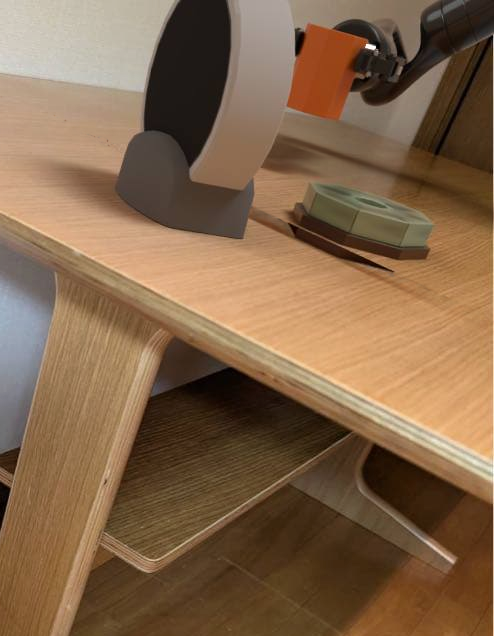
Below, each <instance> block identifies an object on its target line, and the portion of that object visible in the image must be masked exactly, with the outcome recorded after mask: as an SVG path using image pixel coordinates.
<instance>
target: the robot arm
mask: <svg viewBox="0 0 494 636" xmlns="http://www.w3.org/2000/svg"><path fill="white" fill-rule="evenodd" d="M331 29H332V30H336V31H340V32H343V33H347V34H350V35H354V36H357V37H361V38H364V39H368V42H367V45H366V47H365V49H362V48H361V49H360V51H359V53H358V56H357V59H356V62H355V65H354V67H353V72H356V75H355V77H354V80H353V83H352V85H351V88H350V91H349V93H359V95H360V97H361V100H362V102H364V104H365V105H367V106H370V107H382V106H384V105H388V104H390V103H392V102H393V101H394V100H396V99H397V98H398V97H400V96H401V95H402V94H403V93H405V91H407V90H408V89H409V88H410V87H411V86H413V85H414V84H415V83H416V82H417V81H418V80H419V79H420V78H422V77H423V76H424V75H425V74H427V73H428V72H429V71H431V70H432V69H434V68H435V67H436V66H437V65H439V64H440V63H442V62H444V61H445V60H448V59H449V58H450V57H452V56H454V55H456V54H458V53H460V52H463V51H464V50H466V49H468V48H470V47H472V46H474V45H477V44H478V43H480V42H482V41H484V40H486V39H488V38H490V37H491V36H493V35H494V0H435V1H433V2H431V3H430V4H428V5H427V6H425V7H424V8H423V9H422V10H421V11H420V14H419V19H418V30H419V45H418V49H417V51H416V53H415V54H414V56H413V58H412V59H411V60H410V59H409V56H408V52H407V49H406V44H405V41H404V38H403V34H402V31H401V28H400V26H399V24H398V22H397V21H396V20H395V18H393V17H390V16H383V17H379V18H375V19H372V20H370V21H367V20H365V19H361V18H350V19H346V20H343V21H341V22H339V23H338V24H336V25H334V26H333V27H332V28H331ZM294 30H295V58H297V55H298V52H299V49H300V46H301V43H302V39H303V36H304V33H305V30H306V28H301V27H298V26H297V27H294Z"/></svg>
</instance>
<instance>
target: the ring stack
mask: <svg viewBox="0 0 494 636" xmlns="http://www.w3.org/2000/svg"><path fill="white" fill-rule="evenodd" d="M291 213H292V215H293V217H294V219H295V221H296V223H297V225H298V226H297V225H295V224H294V223H292V222H291V223H290V222H288V226H289V228H290V230H291V232H292V234H293V237H295V238H296V239H298V240H301V241H303V242H305V243H307V244H309V245H311V246H313V247H315V248H317V249H319V250H321V251H323V252H326V253H328V254H330V255H332V256H334V257H336V258H339V259H343V260H347V261H350V262H354V263H357V262H358V263H357V264H361V265H365V266H368V265H369V267H372V268H377V269H380V270H383V271H387V272H391V273H394V272H395V270H392V269H391V268H388V267H386V266H384V265H382V264H380V263H377V262H375V261H373V260H371V259H369V258H367V257H364V256H362V255H360V254H357V253H356V252H353V251H351V250H349V249H347V248H351V249H354V250H358V251H361V252H366V253H369V254H372V255H377V256H380V257H384V258H388V259H390V260H395V261H422V260H423V261H424V260H427V257H428V256H429V253H430V251H431V248H430V247H429V246H428V245H427V242H428V240H429V237H430V235H431V233H432V232H433V229H434V227H435V223H434V222H433V221H432V220H430V218H429V217H428V216H426V215H425V214H424V213H423V212H421V211H419V210H417V209H414V208H412V207H409V206H407V205H405V204H402V203H399V202H397V201H394V200H392V199H390V198H387V197H385V196H382V195H380V194H375V193H371V192H367V191H364V190H362V189H361V190H360V189H358V188H354V187H350V186H346V185H342V184H338V183H330V182H319V181H318V182H317V181H309V182H308V185H307V187H306V191H305V194H304V195H303V199H302V201H301V202H299V201H298V202H295V204H294V206H293V209H292V212H291ZM303 228H304V229H303ZM325 238H326V239H325ZM327 239H328V240H327ZM336 243H337V244H336ZM344 247H345V248H344ZM346 247H347V248H346Z"/></svg>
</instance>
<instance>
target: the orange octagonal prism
mask: <svg viewBox="0 0 494 636" xmlns="http://www.w3.org/2000/svg"><path fill="white" fill-rule="evenodd" d="M367 42H368V39H364V38H361V37H357V36H354V35H350V34H347V33H343V32H340V31H336V30H332V28H328V27H325V26H322V25H318V24H314V23H311V22H308V23H307V24H306V28H305V33H304V36H303V39H302V43H301V46H300V49H299V52H298V55H297V57H295V63H294V70H293V77H292V84H291V91H290V94H289V98H288V102H287V105H286V108H289V109H292V110H295V111H298V112H301V113H304V114H308V115H310V116H314V117H319V118H322V119H326V120H333V121H340V119H341V116H342V113H343V109H344V107H345V104H346V101H347V99H348V96H349V94H350V92H349V91H350V88H351V85H352V83H353V80H354V77H355V75H356V72H353V67H354V65H355V62H356V59H357V56H358V53H359V51H360V49H361V48H362V49H365V47H366V45H367Z"/></svg>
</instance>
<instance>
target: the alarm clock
mask: <svg viewBox="0 0 494 636" xmlns="http://www.w3.org/2000/svg"><path fill="white" fill-rule="evenodd" d="M294 28H295V24H294V20H293V13H292V10H291V5H290V3H289V1H288V0H174V1H173V3H172V4H171V7H170V9H169V10H168V12H167V14H166V16H165V17H164V20H163V23H162V25H161V28H160V30H159V33H158V36H157V37H156V40H155V44H154V47H153V50H152V54H151V58H150V61H149V63H148V67H147V71H146V77H145V83H144V88H143V95H142V101H141V103H142V104H141V112H140V132H138V133H135V134H134V135H133V136H132V137H131V139H130V141H129V142H128V144H127V147H126V148H125V149H126V150H125V152H124V155H123V158H122V162H121V165H120V169H119V171H118V172H119V173H118V175H117V179H116V182H115V190H116V192H117V194H118V195H119V197H120V198H121V199H122V200H123V201H124V202H125V203H127V204H128V205H129V206H131V207H132V208H133V209H135V210H136V211H138V212H139V213H141V214H143V215H144V216H146V217H147V218H149V219H151V220H152V221H154V222H157V223H159V224H161V225H162V226H164V227H168V228H171V229H176V230H177V229H178V230H184V231H190V232H196V233H202V234H208V235H214V236H221V237H227V238H234V239H239V240H240V239H244V236H245V233H246V230H247V225H248V221H249V217H250V213H251V209H252V206H253V201H254V198H255V179H254V177H255V176H256V175H257V174H258V172H259V170H260V169H261V167H262V165H263V164H264V162H265V160H266V158H267V157H268V155H269V153H270V151H271V150H272V148H273V146H274V143H275V140H276V137H277V135H278V133H279V130H280V128H281V124H282V122H283V120H284V116H285V113H286V109H287V106H286V105H287V102H288V98H289V94H290V91H291V84H292V77H293V70H294V64H295V61H296V57H295V30H294Z"/></svg>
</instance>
